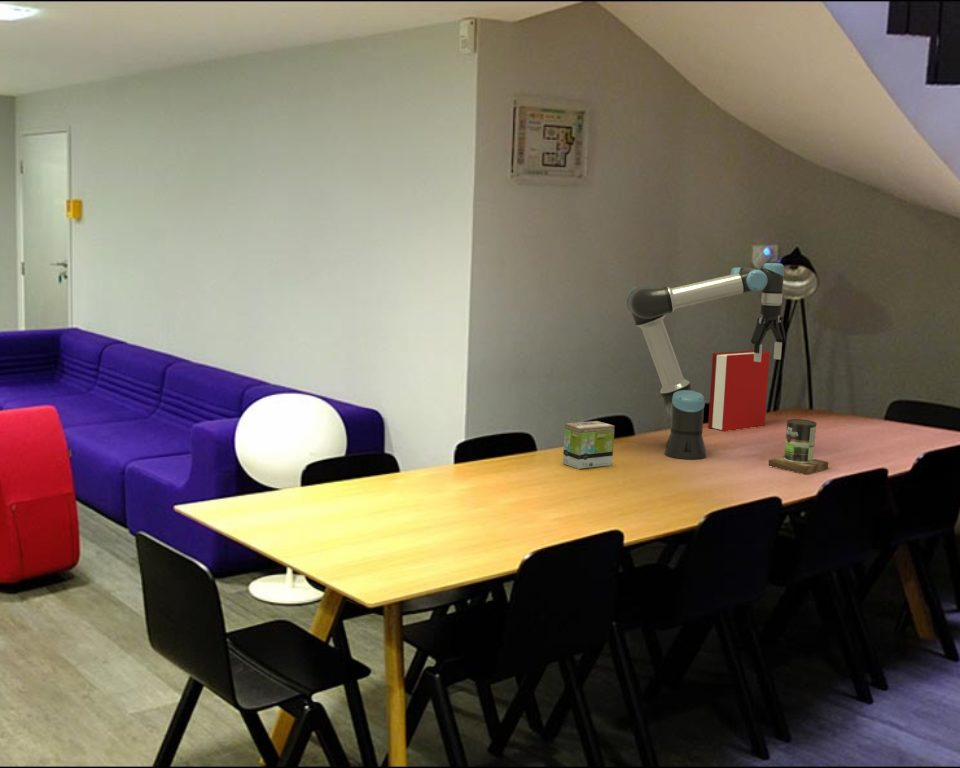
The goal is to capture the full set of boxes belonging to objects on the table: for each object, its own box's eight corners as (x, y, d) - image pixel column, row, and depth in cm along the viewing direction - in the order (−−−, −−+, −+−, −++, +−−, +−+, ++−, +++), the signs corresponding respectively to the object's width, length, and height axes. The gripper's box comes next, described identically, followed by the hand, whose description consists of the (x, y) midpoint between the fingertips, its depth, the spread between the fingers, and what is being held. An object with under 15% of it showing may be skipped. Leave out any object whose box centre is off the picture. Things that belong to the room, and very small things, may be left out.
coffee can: (795, 464, 381) (798, 425, 379) (777, 458, 390) (780, 419, 388) (819, 462, 385) (822, 423, 383) (801, 456, 394) (804, 418, 392)
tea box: (579, 470, 374) (581, 428, 372) (562, 464, 383) (563, 423, 380) (613, 465, 383) (615, 424, 380) (595, 459, 391) (597, 419, 389)
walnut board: (805, 474, 377) (806, 467, 377) (768, 466, 388) (768, 459, 388) (827, 468, 388) (828, 461, 387) (790, 461, 398) (791, 453, 398)
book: (722, 431, 450) (727, 355, 445) (707, 428, 456) (712, 353, 451) (766, 426, 465) (772, 352, 460) (752, 422, 472) (757, 350, 467)
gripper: (780, 302, 418) (776, 356, 422) (743, 304, 402) (740, 361, 405) (797, 304, 413) (793, 359, 416) (761, 306, 396) (757, 363, 400)
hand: (767, 360), depth 411 cm, fingers open, 13 cm apart
